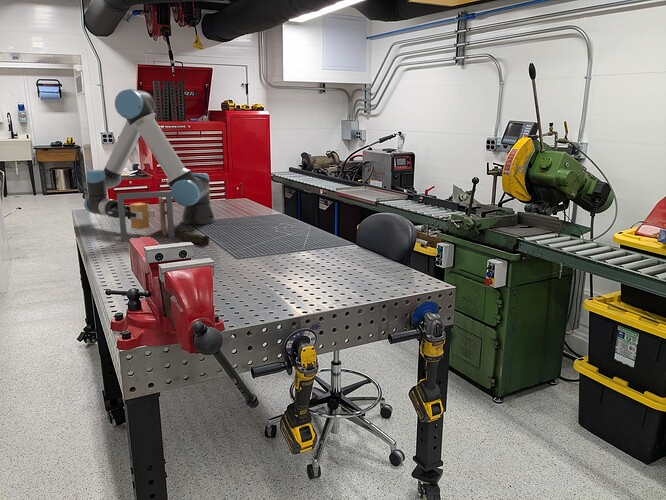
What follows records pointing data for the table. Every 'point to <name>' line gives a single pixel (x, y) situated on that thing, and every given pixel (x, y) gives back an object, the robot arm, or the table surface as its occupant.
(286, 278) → the table surface
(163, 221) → the door
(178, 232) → the hand tool
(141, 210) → the block
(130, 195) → the door frame
